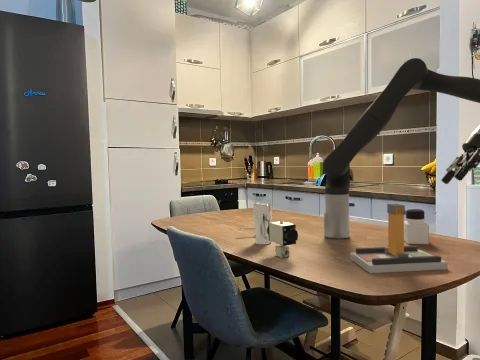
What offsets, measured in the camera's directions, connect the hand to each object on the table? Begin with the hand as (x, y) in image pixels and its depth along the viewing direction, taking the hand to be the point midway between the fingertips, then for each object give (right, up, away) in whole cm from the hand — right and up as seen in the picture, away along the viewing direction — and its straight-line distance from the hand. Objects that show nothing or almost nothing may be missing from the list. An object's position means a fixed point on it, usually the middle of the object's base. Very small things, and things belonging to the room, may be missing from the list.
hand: (450, 180), depth 108 cm
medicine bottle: (-1, -23, +20) cm, 31 cm away
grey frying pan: (-56, -23, +39) cm, 72 cm away
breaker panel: (-19, -24, -5) cm, 31 cm away
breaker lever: (-19, -21, -5) cm, 29 cm away
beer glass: (-56, -24, +26) cm, 66 cm away
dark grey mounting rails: (-19, -22, -5) cm, 30 cm away
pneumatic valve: (-51, -25, +7) cm, 57 cm away
